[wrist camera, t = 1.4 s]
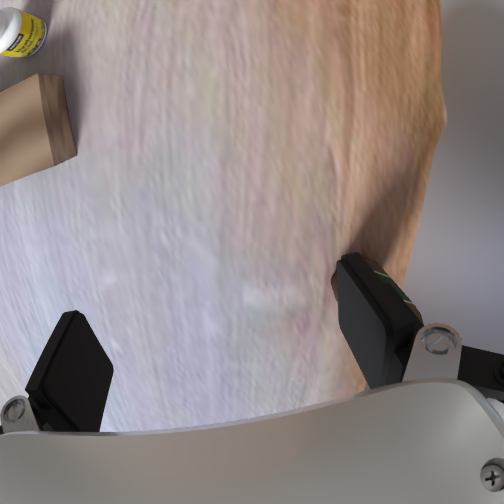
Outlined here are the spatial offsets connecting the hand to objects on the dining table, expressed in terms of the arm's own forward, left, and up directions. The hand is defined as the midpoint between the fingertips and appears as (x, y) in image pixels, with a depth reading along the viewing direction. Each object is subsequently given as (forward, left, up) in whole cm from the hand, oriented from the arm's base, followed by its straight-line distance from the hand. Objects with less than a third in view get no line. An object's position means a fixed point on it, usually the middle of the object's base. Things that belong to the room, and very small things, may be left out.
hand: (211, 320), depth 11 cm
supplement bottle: (-22, -19, -27) cm, 40 cm away
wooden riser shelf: (-10, -27, -27) cm, 39 cm away
